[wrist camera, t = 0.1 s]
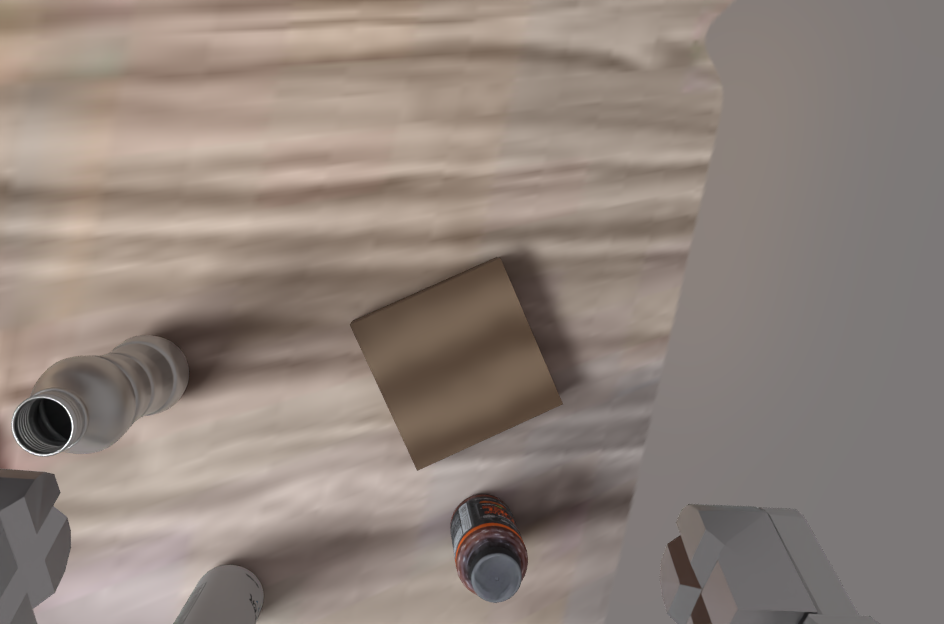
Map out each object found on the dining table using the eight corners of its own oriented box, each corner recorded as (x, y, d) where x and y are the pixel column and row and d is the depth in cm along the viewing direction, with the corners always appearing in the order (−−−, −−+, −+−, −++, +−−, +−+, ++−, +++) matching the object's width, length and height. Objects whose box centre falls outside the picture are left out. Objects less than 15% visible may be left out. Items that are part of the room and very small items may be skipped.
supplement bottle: (523, 504, 66) (548, 557, 55) (498, 562, 66) (518, 626, 55) (464, 482, 65) (477, 531, 54) (439, 541, 66) (447, 601, 54)
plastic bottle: (125, 412, 62) (-5, 489, 42) (113, 335, 61) (-25, 377, 41) (201, 402, 62) (108, 474, 43) (190, 326, 62) (90, 363, 42)
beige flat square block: (555, 396, 65) (562, 404, 63) (416, 460, 65) (417, 470, 62) (495, 257, 64) (500, 258, 61) (352, 321, 63) (349, 324, 60)
